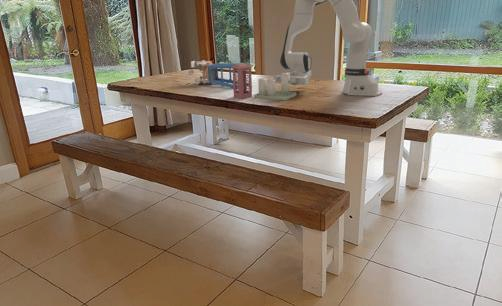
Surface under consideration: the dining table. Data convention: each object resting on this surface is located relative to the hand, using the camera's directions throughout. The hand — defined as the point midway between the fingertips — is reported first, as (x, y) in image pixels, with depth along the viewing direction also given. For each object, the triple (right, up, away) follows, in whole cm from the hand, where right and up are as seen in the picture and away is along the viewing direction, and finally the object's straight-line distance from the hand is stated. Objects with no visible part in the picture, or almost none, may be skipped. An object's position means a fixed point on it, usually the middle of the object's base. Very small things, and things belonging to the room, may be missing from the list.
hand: (284, 81), depth 218 cm
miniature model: (-24, -9, +7) cm, 26 cm away
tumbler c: (+1, -5, +3) cm, 6 cm away
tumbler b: (-12, -8, +6) cm, 16 cm away
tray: (-5, -8, +5) cm, 11 cm away
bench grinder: (-41, +7, +52) cm, 67 cm away
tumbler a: (-8, -9, +3) cm, 12 cm away
